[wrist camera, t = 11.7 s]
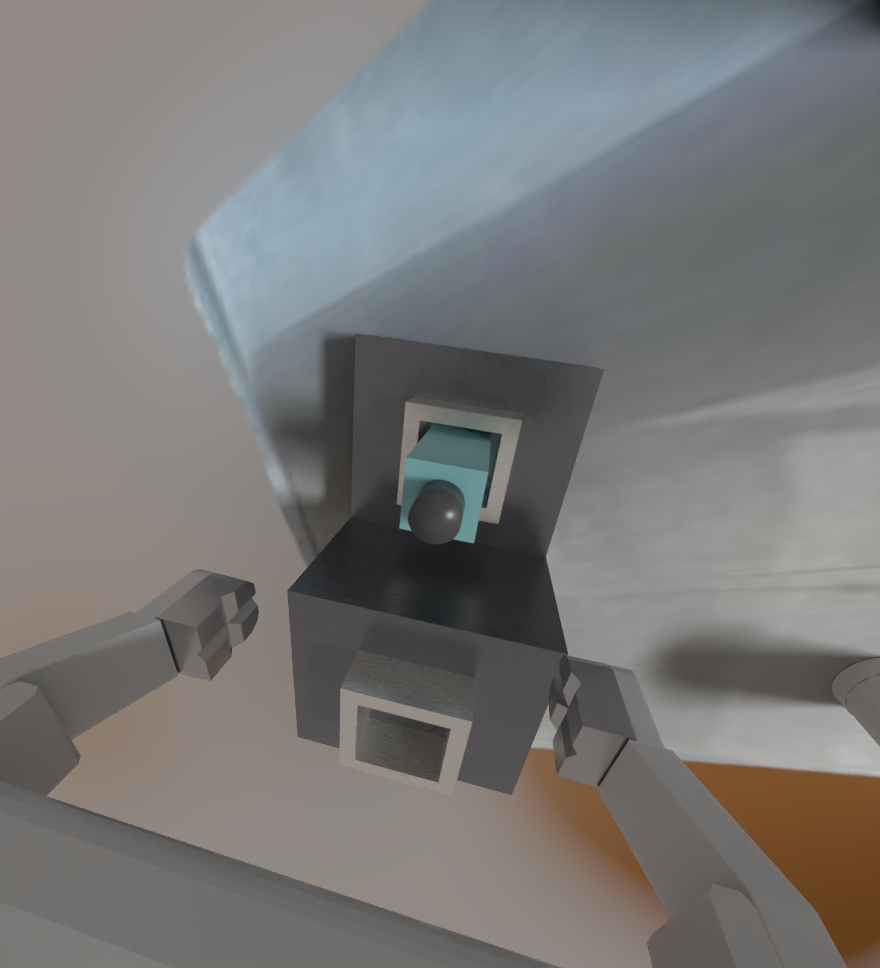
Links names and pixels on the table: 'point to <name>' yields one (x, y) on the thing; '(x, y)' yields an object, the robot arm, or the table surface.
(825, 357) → the table surface
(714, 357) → the table surface
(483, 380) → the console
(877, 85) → the table surface
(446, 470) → the plug
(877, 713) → the cup
